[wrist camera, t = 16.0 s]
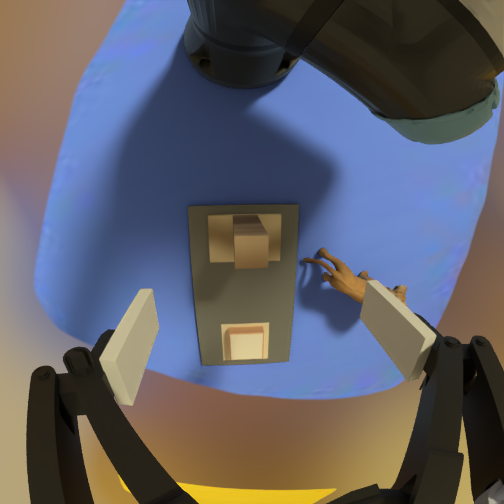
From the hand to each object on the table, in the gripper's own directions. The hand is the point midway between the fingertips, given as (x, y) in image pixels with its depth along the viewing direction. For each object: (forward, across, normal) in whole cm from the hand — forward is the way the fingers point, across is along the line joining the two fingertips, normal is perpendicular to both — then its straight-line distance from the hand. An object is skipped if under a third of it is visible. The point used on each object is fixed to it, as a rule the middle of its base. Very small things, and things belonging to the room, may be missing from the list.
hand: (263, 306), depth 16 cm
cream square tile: (+20, 0, -17) cm, 26 cm away
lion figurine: (+21, +15, -7) cm, 27 cm away
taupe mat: (+21, 0, -10) cm, 23 cm away
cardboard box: (+20, 0, -1) cm, 20 cm away
